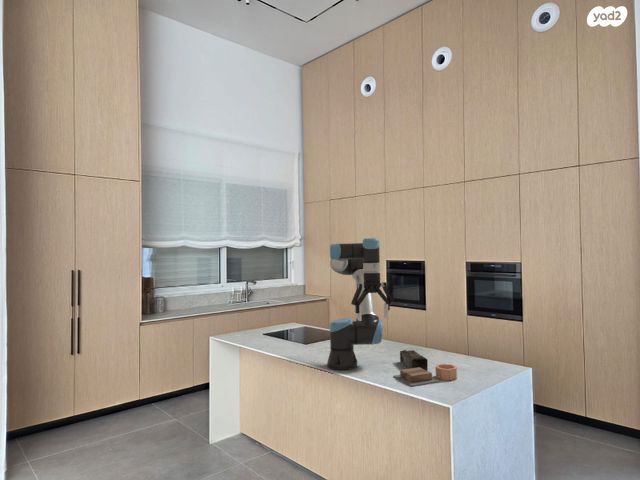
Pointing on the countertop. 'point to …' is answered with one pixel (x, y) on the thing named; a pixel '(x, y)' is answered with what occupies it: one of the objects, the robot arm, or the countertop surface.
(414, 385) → the mat
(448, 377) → the pot
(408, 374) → the lid
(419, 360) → the beverage carton
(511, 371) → the countertop surface
